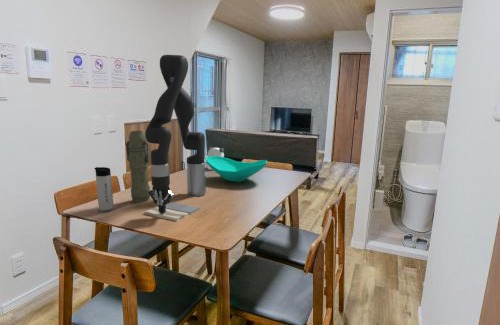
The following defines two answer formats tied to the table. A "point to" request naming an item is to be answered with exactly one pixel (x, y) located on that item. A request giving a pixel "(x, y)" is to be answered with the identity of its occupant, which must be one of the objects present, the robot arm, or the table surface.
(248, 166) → the table top decor
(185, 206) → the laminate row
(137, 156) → the olive green canister
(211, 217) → the table surface
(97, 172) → the travel mug
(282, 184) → the table surface
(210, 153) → the panda figurine
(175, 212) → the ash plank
